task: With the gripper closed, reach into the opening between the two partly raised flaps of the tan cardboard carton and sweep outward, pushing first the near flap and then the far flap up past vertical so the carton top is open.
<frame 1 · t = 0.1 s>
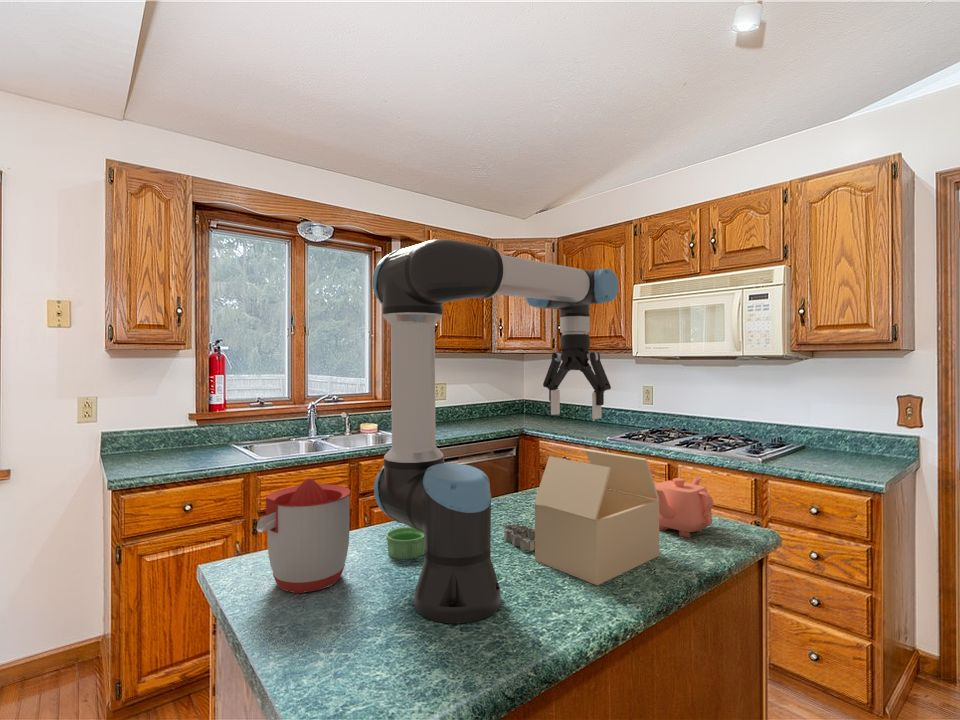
hand: (575, 416, 132), 28 cm above the counter, tool pointing down, fingers open, 13 cm apart
citrus juicer: (305, 583, 99), on the counter
far flap: (620, 473, 116), point 17 cm above the counter, hinge at 62.0°
lidded jar: (581, 517, 140), on the counter
egg carton: (524, 544, 120), on the counter
ramekin: (406, 554, 114), on the counter
near flap: (571, 486, 104), point 17 cm above the counter, hinge at 62.0°
carton: (597, 558, 110), on the counter
teapot: (679, 529, 129), on the counter
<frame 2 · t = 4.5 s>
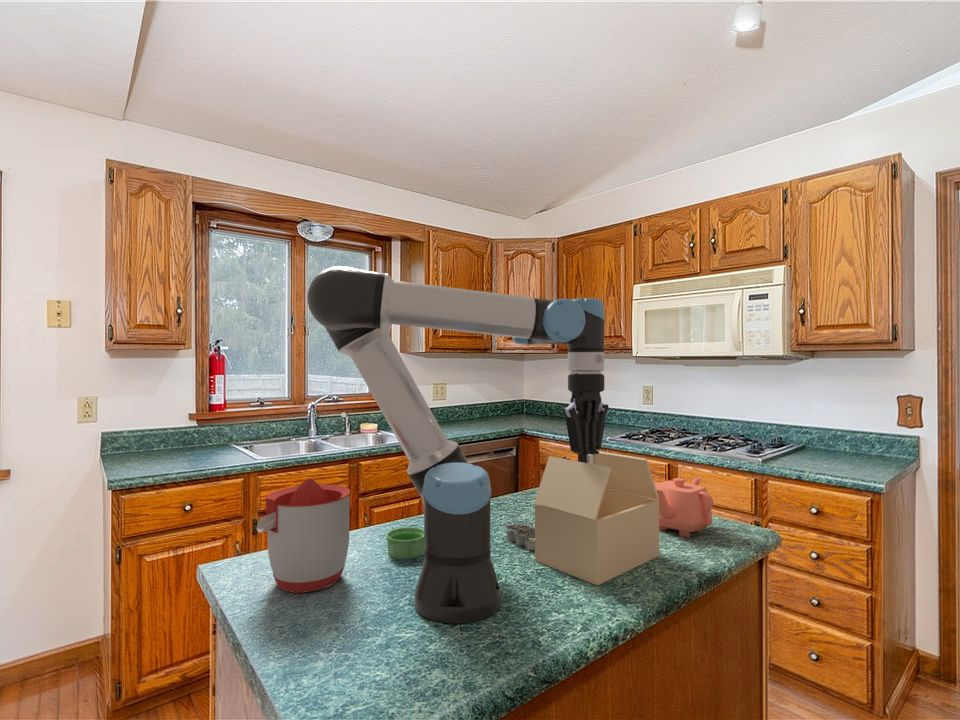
hand: (586, 484, 108), 16 cm above the counter, tool pointing down, fingers closed
near flap: (571, 486, 104), point 17 cm above the counter, hinge at 62.2°, touching gripper
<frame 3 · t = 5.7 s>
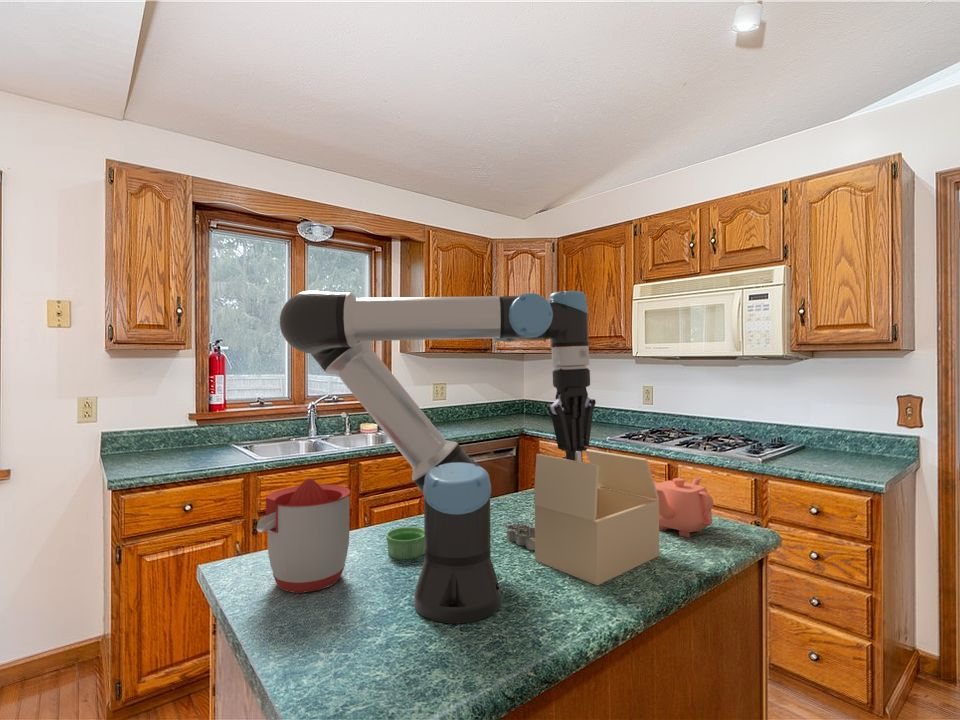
hand: (575, 482, 105), 17 cm above the counter, tool pointing down, fingers closed
near flap: (564, 485, 103), point 17 cm above the counter, hinge at 84.9°, touching gripper
everything else where it was.
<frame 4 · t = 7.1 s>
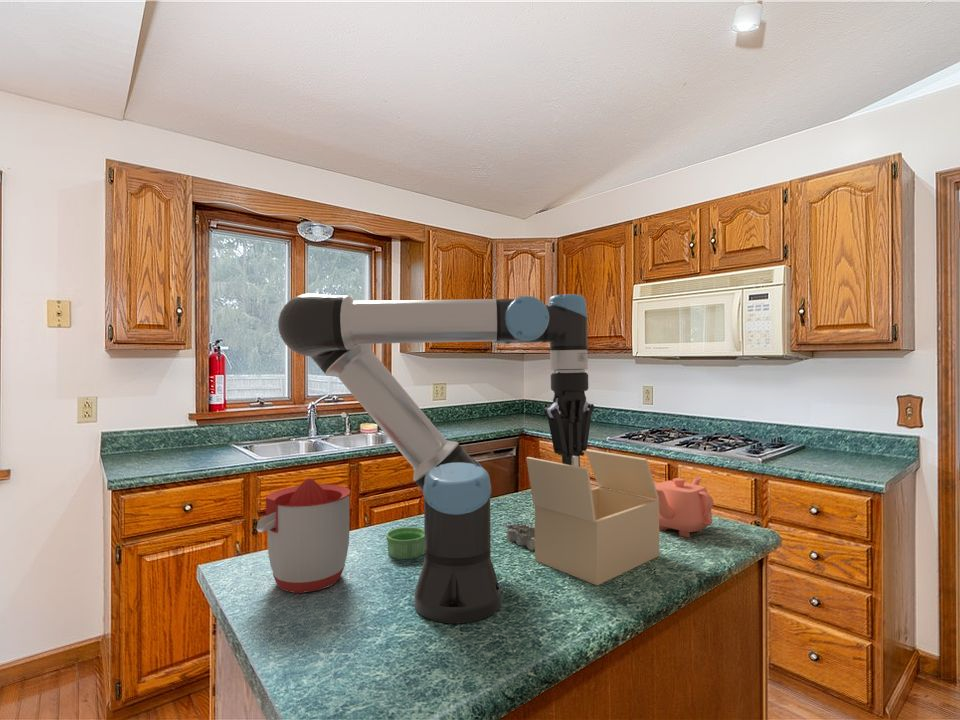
hand: (571, 487, 104), 17 cm above the counter, tool pointing down, fingers closed
near flap: (559, 487, 102), point 17 cm above the counter, hinge at 102.0°
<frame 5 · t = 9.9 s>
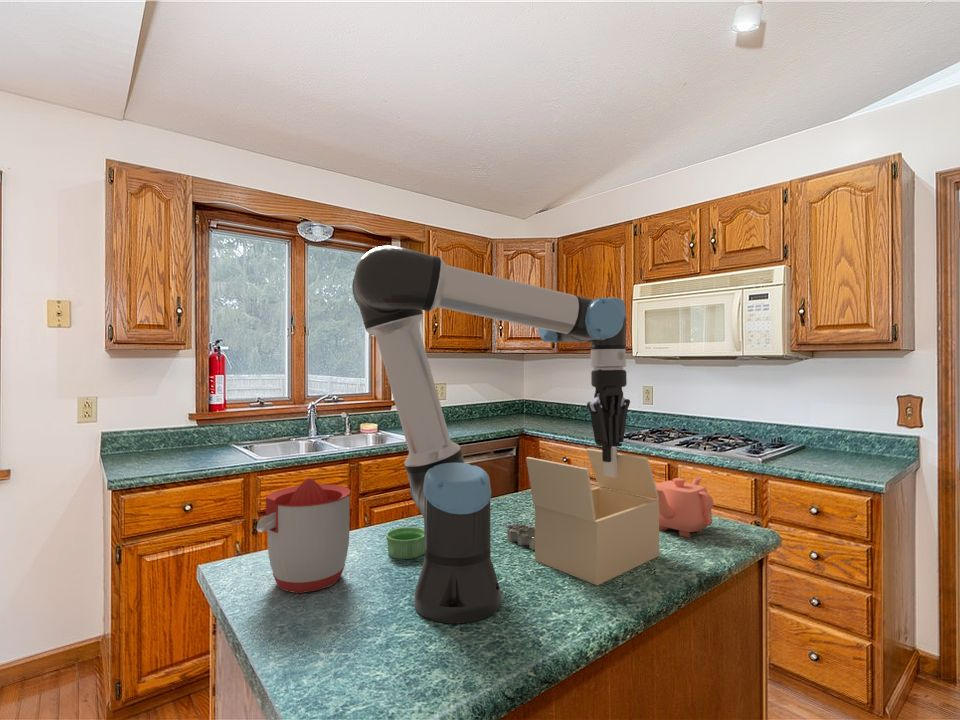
hand: (610, 476, 113), 17 cm above the counter, tool pointing down, fingers closed
far flap: (621, 472, 116), point 17 cm above the counter, hinge at 64.3°, touching gripper
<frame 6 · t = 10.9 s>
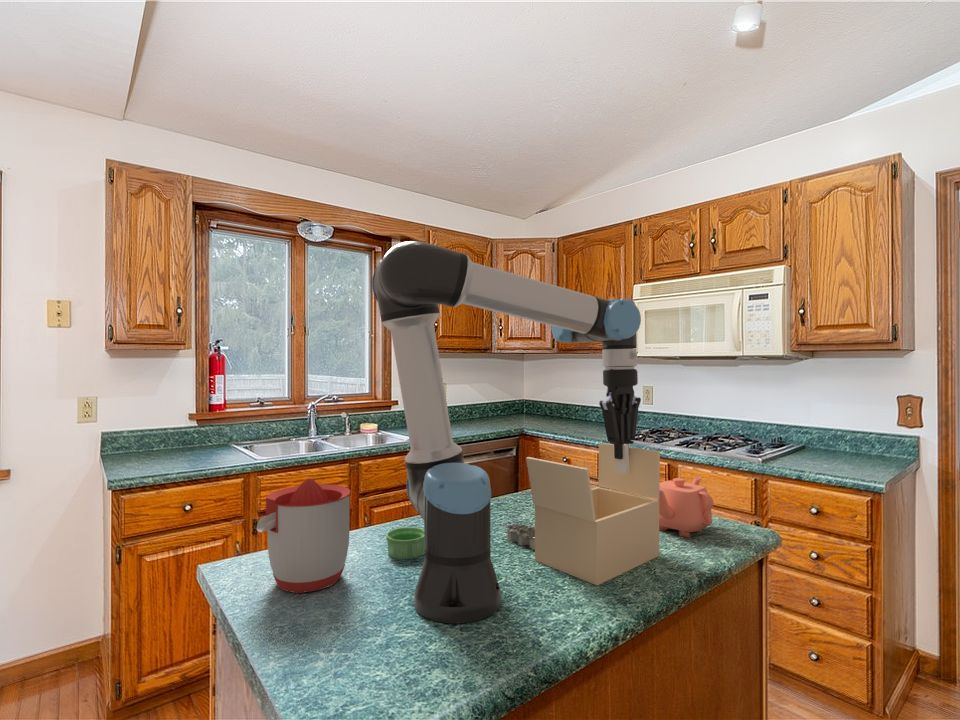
hand: (622, 472, 116), 17 cm above the counter, tool pointing down, fingers closed
far flap: (627, 469, 118), point 17 cm above the counter, hinge at 91.4°, touching gripper
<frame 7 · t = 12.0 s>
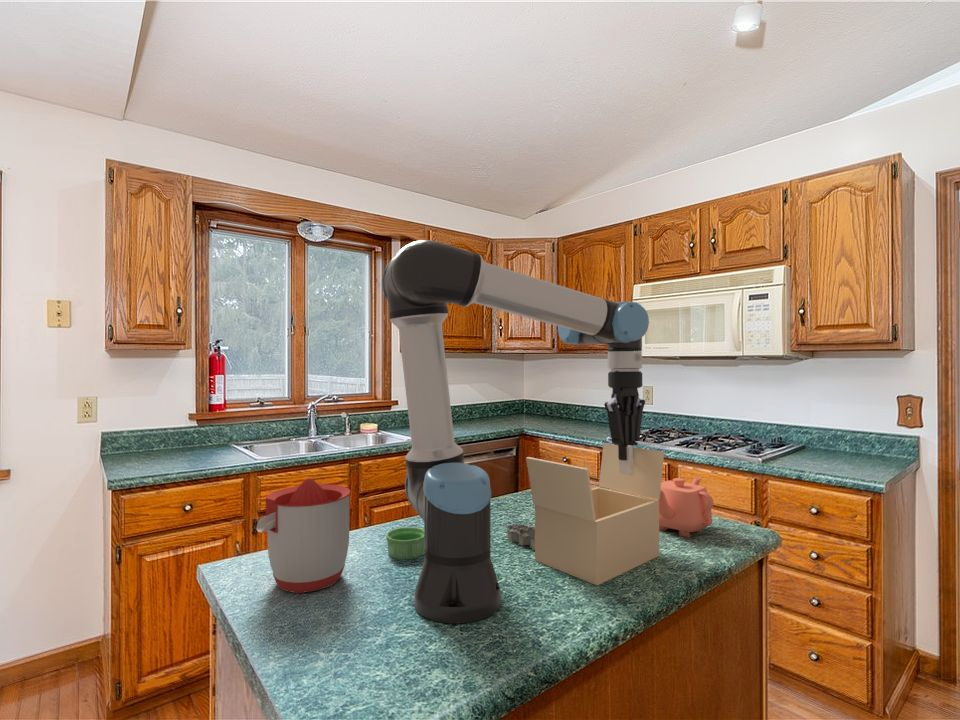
hand: (626, 473, 117), 17 cm above the counter, tool pointing down, fingers closed
far flap: (630, 469, 118), point 17 cm above the counter, hinge at 101.6°, touching gripper
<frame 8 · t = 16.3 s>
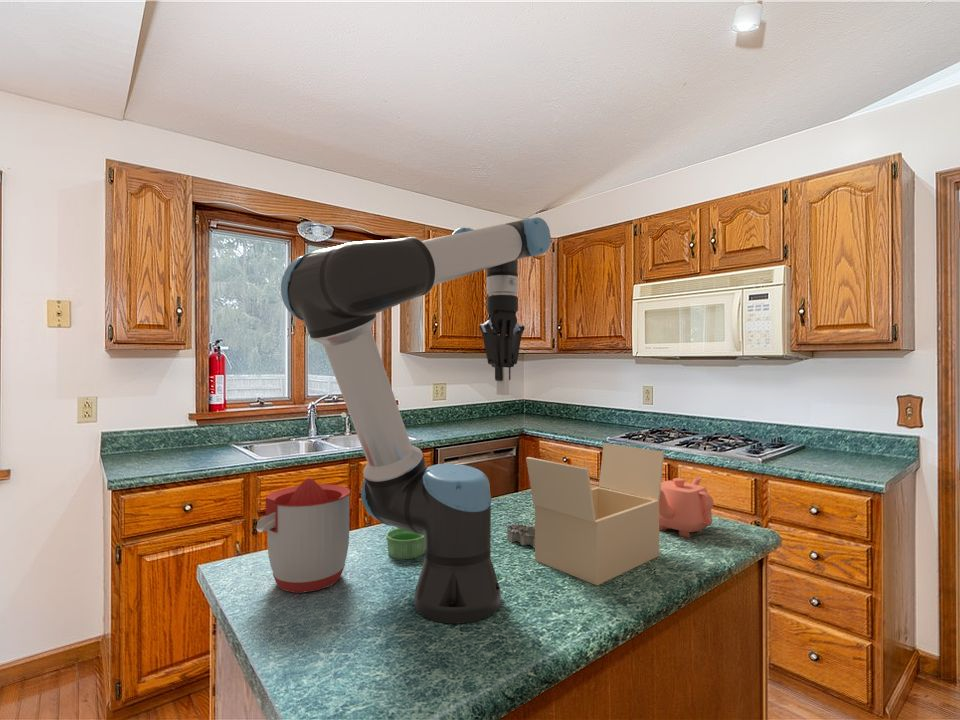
hand: (502, 394, 122), 34 cm above the counter, tool pointing down, fingers closed
far flap: (630, 469, 118), point 17 cm above the counter, hinge at 101.9°
at the end: near flap at +102° (first picture: +62°); far flap at +102° (first picture: +62°) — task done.
